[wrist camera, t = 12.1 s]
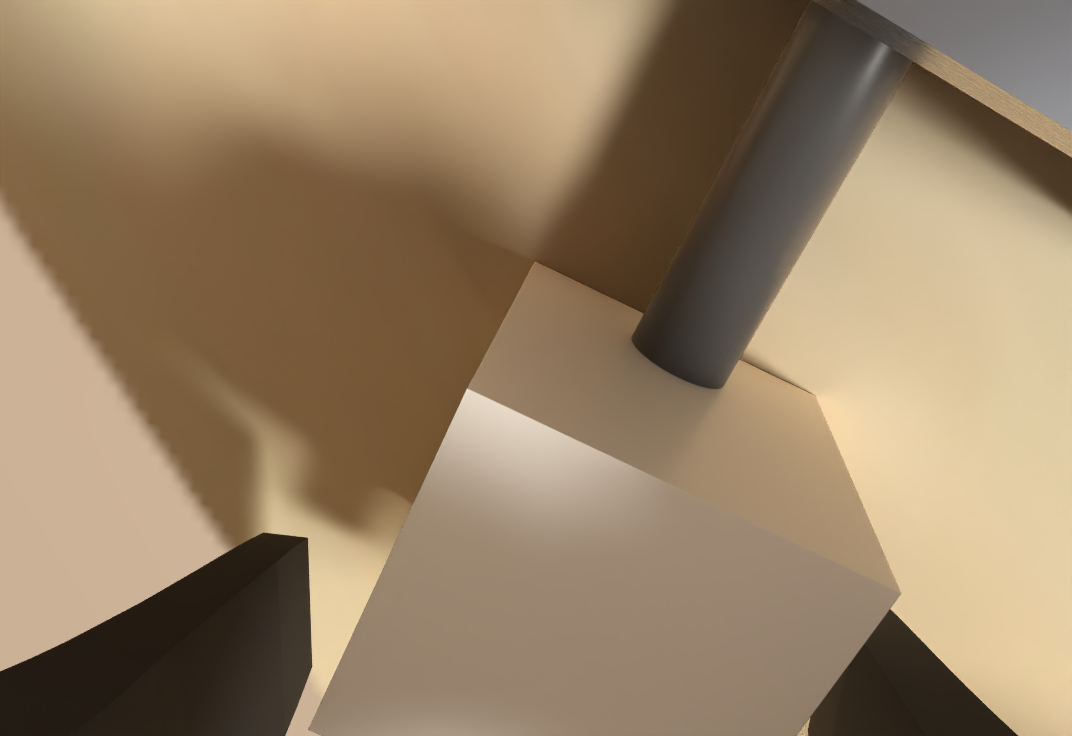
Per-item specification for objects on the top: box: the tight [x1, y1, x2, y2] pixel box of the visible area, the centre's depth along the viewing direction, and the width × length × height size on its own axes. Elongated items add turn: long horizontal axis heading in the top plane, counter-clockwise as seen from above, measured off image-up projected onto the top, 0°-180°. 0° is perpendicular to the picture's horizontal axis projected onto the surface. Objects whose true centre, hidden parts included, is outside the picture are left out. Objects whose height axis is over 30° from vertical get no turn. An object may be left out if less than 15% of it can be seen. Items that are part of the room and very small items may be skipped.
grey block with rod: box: [308, 0, 913, 736], centre depth 8 cm, size 4×16×6 cm, turn 155°
